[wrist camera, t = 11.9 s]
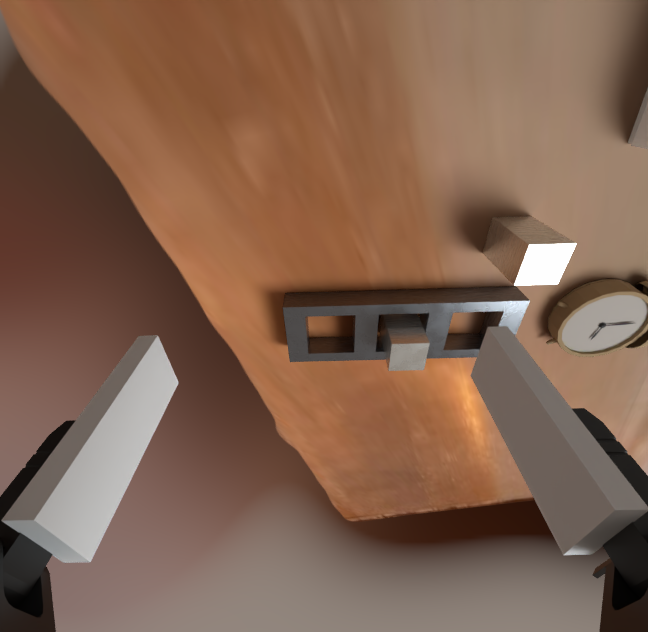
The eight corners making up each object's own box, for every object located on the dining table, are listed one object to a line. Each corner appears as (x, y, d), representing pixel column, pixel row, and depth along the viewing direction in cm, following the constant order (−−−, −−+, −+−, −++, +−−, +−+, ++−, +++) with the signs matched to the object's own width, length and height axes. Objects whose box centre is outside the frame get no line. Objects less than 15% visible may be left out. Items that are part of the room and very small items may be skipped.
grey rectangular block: (381, 306, 44) (391, 344, 37) (413, 305, 44) (429, 343, 37) (379, 331, 47) (388, 370, 40) (409, 330, 46) (423, 369, 40)
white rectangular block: (492, 217, 37) (529, 244, 30) (531, 216, 37) (576, 243, 30) (482, 253, 39) (514, 285, 33) (518, 251, 39) (557, 284, 33)
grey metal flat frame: (285, 293, 42) (282, 307, 40) (515, 286, 42) (529, 300, 39) (291, 345, 48) (289, 361, 45) (495, 340, 48) (506, 356, 45)
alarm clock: (566, 297, 40) (717, 288, 36) (551, 277, 44) (686, 268, 40) (546, 360, 46) (673, 358, 43) (535, 338, 50) (649, 335, 46)
